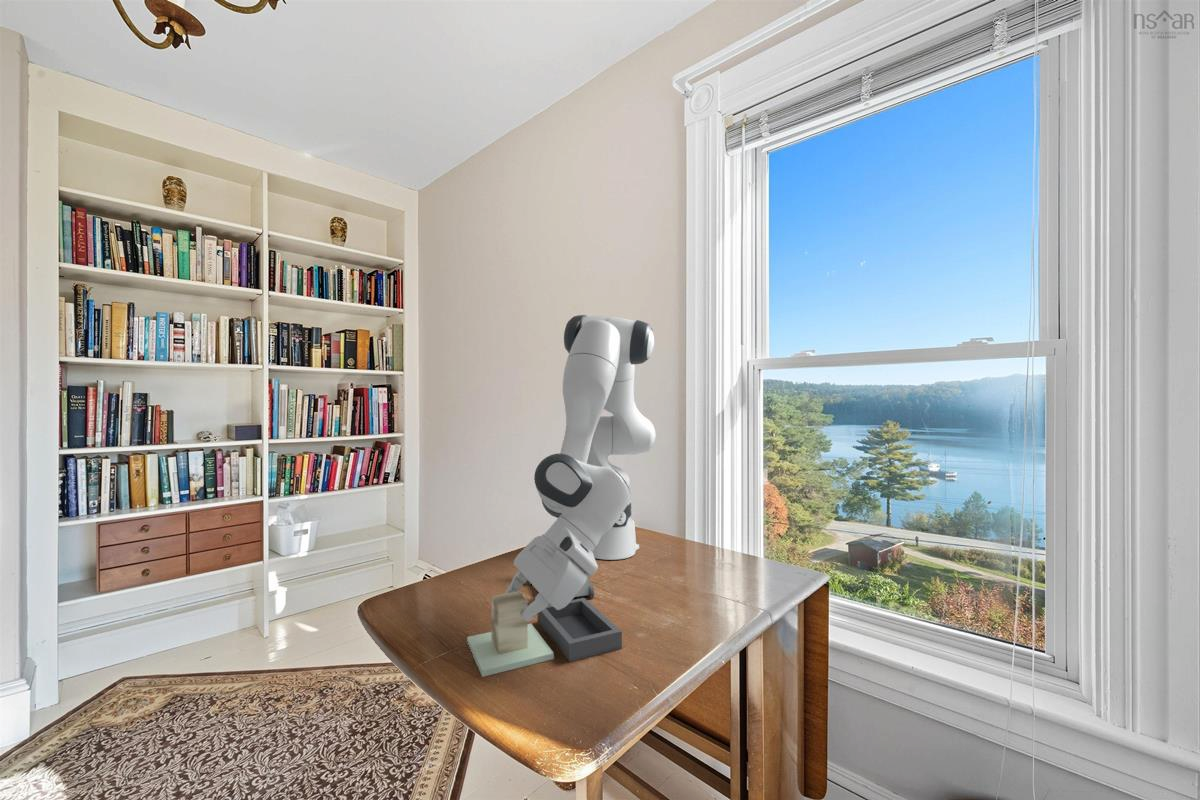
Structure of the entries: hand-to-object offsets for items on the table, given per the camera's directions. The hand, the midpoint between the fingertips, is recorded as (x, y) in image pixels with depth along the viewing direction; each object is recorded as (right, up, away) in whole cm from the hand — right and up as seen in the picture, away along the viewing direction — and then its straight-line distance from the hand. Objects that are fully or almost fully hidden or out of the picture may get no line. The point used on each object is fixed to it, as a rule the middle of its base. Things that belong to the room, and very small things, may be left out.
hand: (515, 607), depth 85 cm
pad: (-1, -7, -1) cm, 7 cm away
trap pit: (+11, -7, +5) cm, 14 cm away
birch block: (-1, -6, -1) cm, 6 cm away
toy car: (+5, -8, +27) cm, 29 cm away
